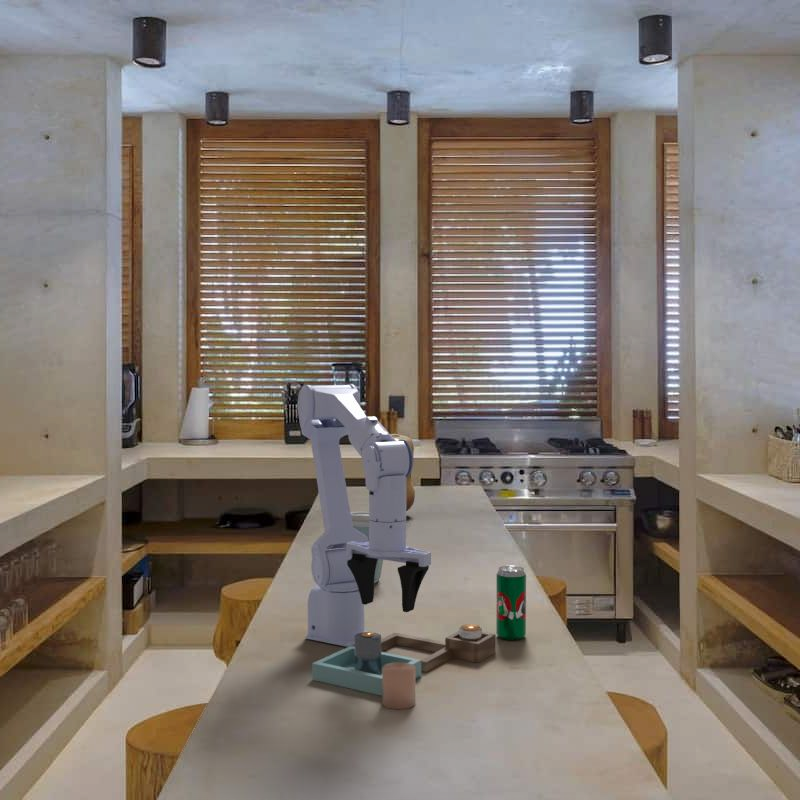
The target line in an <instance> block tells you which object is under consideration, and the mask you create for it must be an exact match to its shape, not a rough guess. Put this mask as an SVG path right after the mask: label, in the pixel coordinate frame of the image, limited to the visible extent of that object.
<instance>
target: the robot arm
mask: <svg viewBox="0 0 800 800" xmlns="http://www.w3.org/2000/svg"><path fill="white" fill-rule="evenodd" d="M297 397H298V398H297V415H298V420H299V425H300V428H301V429H300V430H301V434H302V436H304V437H305V438H307V439H308V440H309V441H310V445H311V452H312V457H313V463H314V470H315V477H316V483H317V489H318V490H317V492H318V497H319V503H320V509H321V515H322V522H323V529H324V532H323V533H322V535H320V536H318V538H317V539H316V540H315V541H314V542H313V544H312V546H311V548H310V549H311V551H310V552H311V565H310V566H311V568H310V569H311V575H312V579H313V581H314V584H316V585H314V586H313V587H312V588H311V590H310V592H309V595H308V599H307V634H305V635H304V639H307V640H311V641H317V642H322V643H326V644H332V645H336V646H340V647H345V648H347V647H349V646H355V635H356V634H358V633H363V632H369V631H367V630H365V626H366V625H365V624H366V623H365V619H366V618H365V606H366V605H368V604H370V603H371V604H372V603H373V602H374V597H375V583H374V576H375V569H376V564H377V560H378V559H382V560H383V561H391V562H395V563H404V565H401V566H398V567H397V573H398V576H399V581H400V587H401V607H402V612H404V613H408V612H411V611H413V610H415V609H414V608H415V607H416V606H415V605H416V601H417V597H418V593H419V590H420V587H421V584H422V582H423V580H424V578H425V576H426V575H427V572H428V570H429V568H430V566H431V565H432V551H426V550H422V549H418V548H415V547H411V546H408V545H407V511H406V477H408V476H409V475H410V474H411V475H412V473H411V472H413V469H414V463H413V459H414V455H413V452H412V449H411V446H410V445H409V443H408V441H407V440H405V439H401V440H399V439H394V438H393V437H392V436H391V435H390V434H391V433H390V432H389V431H388V430H387V429H386V428H385V427H384V425H383V424H382V423H381V422H380V421H379V420H378V418H377V417H376V416H368V415H367V414H366V413H365V412H364V410H363V409H362V407H361V397H360V392H359V390H358V389H357V386H355V384H353V383H347V384H330V385H329V384H326V385H325V384H321V385H320V384H319V385H314V384H313V385H311V384H303V386H302V387H301V389H300V390H299V392H298V396H297ZM346 435H348V441H349V442H350V444H351V445H352V447H353V448H354V449H355V451H356V452H357V453H358V455H359V456H360V457H361V458H362V459H361V462H362V464H361V465H362V469H363V473H364V478H365V486H366V487H365V488H366V490H368V512H369V541H368V538H367V537H366V536H365V535H363V534H362V533H360V532H359V531H357V530H356V529H354V528H353V525H352V519H351V513H350V512H351V508H350V501H349V496H348V495H349V494H348V490H347V489H348V488H347V483H346V477H345V471H344V465H343V459H342V453H341V447H340V439H342V438H343V437H345V436H346Z"/></svg>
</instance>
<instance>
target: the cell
mask: <svg viewBox="0 0 800 800" xmlns="http://www.w3.org/2000/svg"><path fill="white" fill-rule="evenodd" d="M381 639H382V635H381V634H380V633H378V632H373V631H368V632H363V633H358V634H356V635H355V645H354V646H355V670H358V671H363V672H367V673H372V674H376V675H381Z"/></svg>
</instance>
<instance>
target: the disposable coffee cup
mask: <svg viewBox="0 0 800 800" xmlns="http://www.w3.org/2000/svg"><path fill="white" fill-rule="evenodd" d="M350 513H351V519H352V525H353V528H354V529H356V530H357V531H359V532H360V533H362V534H363V535H365V536H366V537H367V538H368V541H369V511H350ZM383 564H384V560H382V559H378V560H377V564H376V569H375V576H374V584H376V583H378V582H379V581H380V579H381V575H382V568H383Z"/></svg>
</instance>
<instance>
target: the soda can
mask: <svg viewBox="0 0 800 800" xmlns="http://www.w3.org/2000/svg"><path fill="white" fill-rule="evenodd" d="M495 579H496V582H495V584H496V587H495V588H496V592H495V593H496V596H495V598H496V599H495V600H496V602H495V603H496V605H495V606H496V611H495V612H496V615H495V616H496V625H495V626H496V627H495V628H496V635H497V637H498V638H500V639H501V640H504V641H513V642H515V641H521V640H523V639H524V638H525V636H527V574H526V572H525V568H524V567H523V566H520V565H502V566H500V567H498V571H497V572H496V578H495Z"/></svg>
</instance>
